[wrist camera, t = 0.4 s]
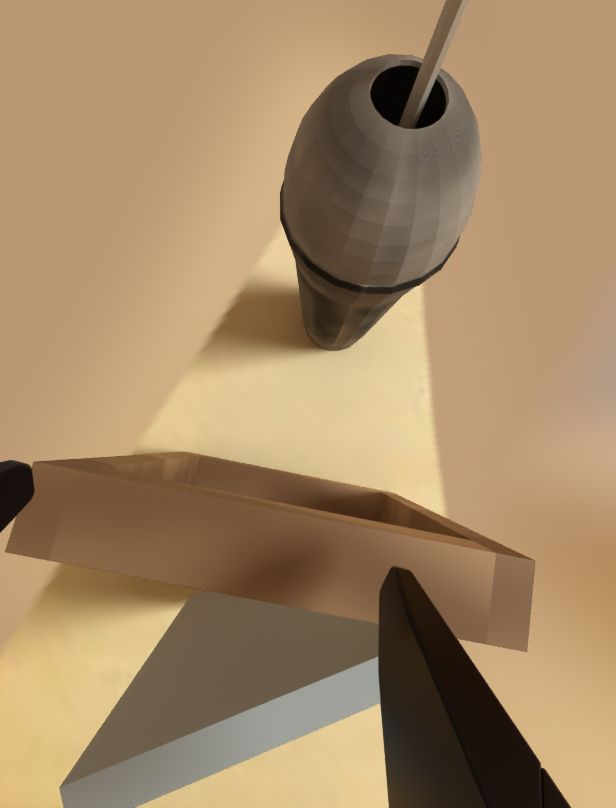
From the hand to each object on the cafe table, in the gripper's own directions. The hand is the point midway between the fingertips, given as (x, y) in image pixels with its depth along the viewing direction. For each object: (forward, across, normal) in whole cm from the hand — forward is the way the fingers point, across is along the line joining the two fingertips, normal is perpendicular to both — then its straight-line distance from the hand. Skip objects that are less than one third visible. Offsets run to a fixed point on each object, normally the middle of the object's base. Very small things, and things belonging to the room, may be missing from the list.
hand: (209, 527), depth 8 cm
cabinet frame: (+12, -2, +8) cm, 15 cm away
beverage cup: (+19, -2, -3) cm, 19 cm away
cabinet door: (+8, -3, +12) cm, 15 cm away
